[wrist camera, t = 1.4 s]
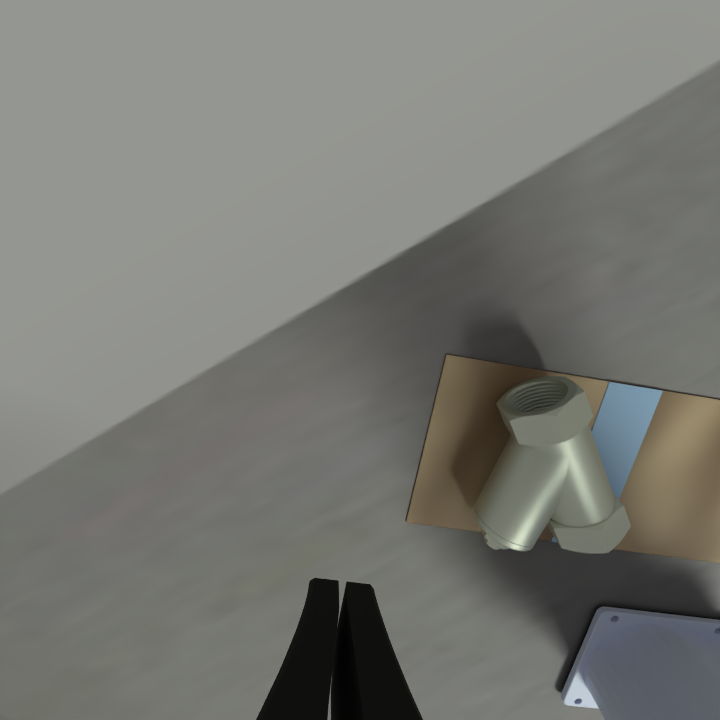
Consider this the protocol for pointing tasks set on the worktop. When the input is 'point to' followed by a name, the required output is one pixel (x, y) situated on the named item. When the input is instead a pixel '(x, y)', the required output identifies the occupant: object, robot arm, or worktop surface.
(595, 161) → the worktop surface
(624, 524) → the pipe fitting
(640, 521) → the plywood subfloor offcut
